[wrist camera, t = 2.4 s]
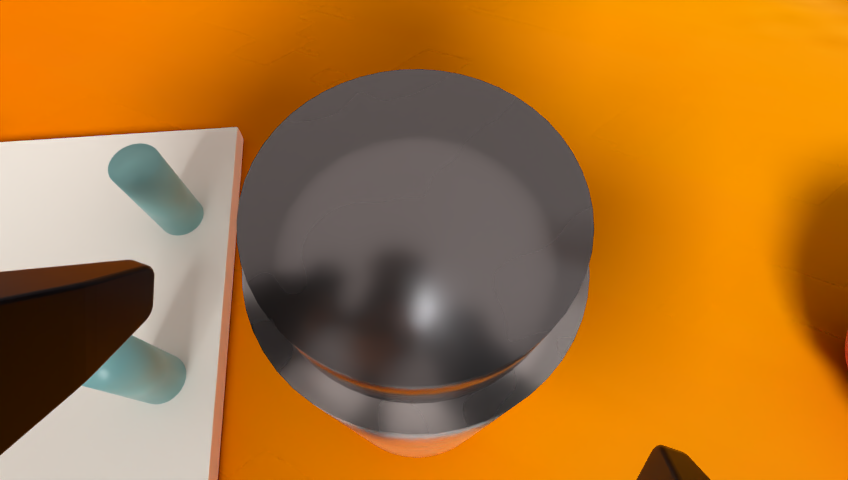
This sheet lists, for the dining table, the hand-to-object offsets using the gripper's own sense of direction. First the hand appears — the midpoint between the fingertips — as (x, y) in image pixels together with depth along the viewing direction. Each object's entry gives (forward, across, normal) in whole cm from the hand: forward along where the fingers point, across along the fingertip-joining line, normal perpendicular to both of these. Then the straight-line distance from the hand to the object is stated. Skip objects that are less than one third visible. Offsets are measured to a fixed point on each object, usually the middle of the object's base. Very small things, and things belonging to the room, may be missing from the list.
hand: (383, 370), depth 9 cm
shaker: (+8, 0, +5) cm, 9 cm away
